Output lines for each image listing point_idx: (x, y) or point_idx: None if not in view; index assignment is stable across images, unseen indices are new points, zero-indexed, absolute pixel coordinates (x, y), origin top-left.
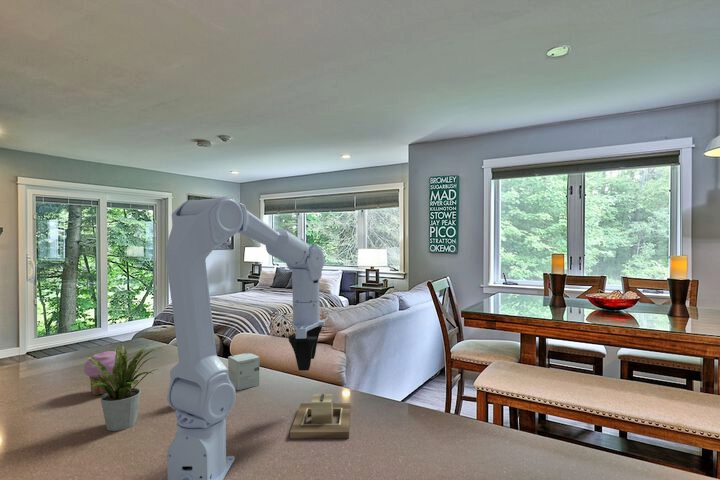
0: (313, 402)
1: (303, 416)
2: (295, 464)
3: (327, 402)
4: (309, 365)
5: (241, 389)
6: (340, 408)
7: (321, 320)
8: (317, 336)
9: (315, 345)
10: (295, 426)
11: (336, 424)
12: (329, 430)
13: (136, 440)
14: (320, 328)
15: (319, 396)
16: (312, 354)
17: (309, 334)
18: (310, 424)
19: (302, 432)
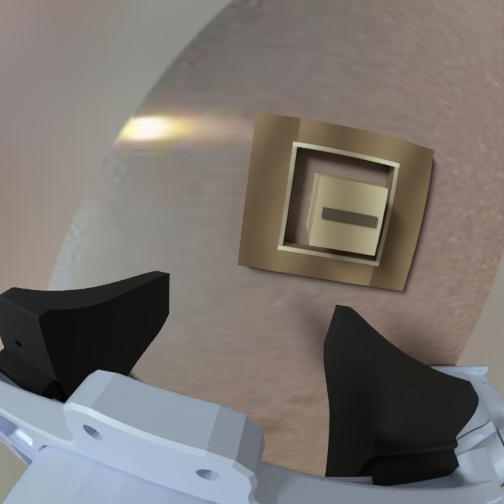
0: (375, 248)
1: (328, 259)
2: (479, 271)
3: (385, 202)
4: (359, 315)
5: (128, 375)
6: (296, 148)
7: (100, 452)
8: (96, 310)
9: (131, 294)
10: (379, 279)
11: (397, 174)
12: (420, 197)
13: (314, 467)
14: (49, 319)
15: (332, 225)
16: (159, 289)
17: (95, 367)
18: (383, 243)
19: (410, 263)
